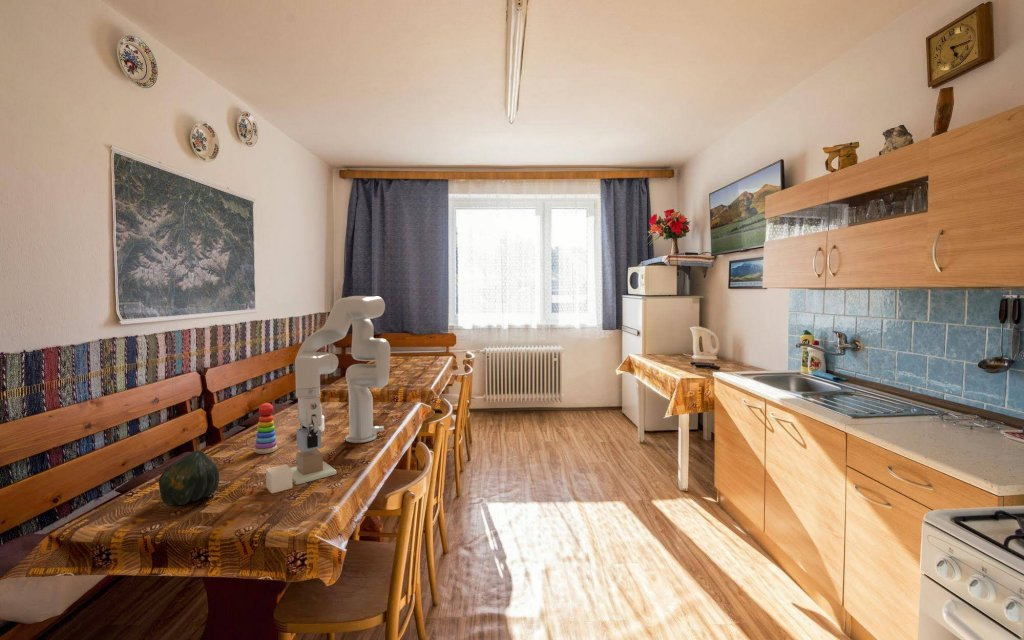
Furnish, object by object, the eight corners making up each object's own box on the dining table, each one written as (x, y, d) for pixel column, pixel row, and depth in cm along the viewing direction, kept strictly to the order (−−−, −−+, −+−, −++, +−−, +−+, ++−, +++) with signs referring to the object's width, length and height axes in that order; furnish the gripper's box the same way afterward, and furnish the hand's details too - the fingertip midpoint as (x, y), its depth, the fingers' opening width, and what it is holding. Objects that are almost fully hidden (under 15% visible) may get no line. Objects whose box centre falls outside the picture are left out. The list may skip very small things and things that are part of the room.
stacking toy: (267, 455, 171) (266, 406, 170) (249, 453, 173) (247, 405, 172) (282, 448, 179) (281, 401, 178) (264, 446, 181) (263, 400, 180)
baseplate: (322, 463, 163) (322, 443, 163) (336, 474, 154) (336, 453, 154) (283, 472, 155) (283, 452, 154) (296, 484, 145) (295, 462, 145)
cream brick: (286, 482, 147) (286, 464, 147) (292, 488, 143) (292, 469, 143) (266, 487, 143) (265, 468, 143) (271, 493, 139) (271, 474, 139)
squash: (135, 492, 127) (170, 452, 127) (174, 472, 142) (206, 437, 142) (173, 525, 127) (208, 485, 127) (209, 502, 142) (240, 467, 142)
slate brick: (314, 443, 158) (314, 426, 158) (321, 447, 153) (321, 430, 153) (296, 447, 154) (296, 429, 153) (302, 451, 149) (302, 433, 149)
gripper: (329, 394, 149) (329, 448, 150) (310, 386, 162) (311, 436, 162) (305, 398, 144) (306, 454, 145) (288, 389, 156) (289, 441, 157)
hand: (309, 444), depth 154 cm, fingers closed on slate brick, 6 cm apart
